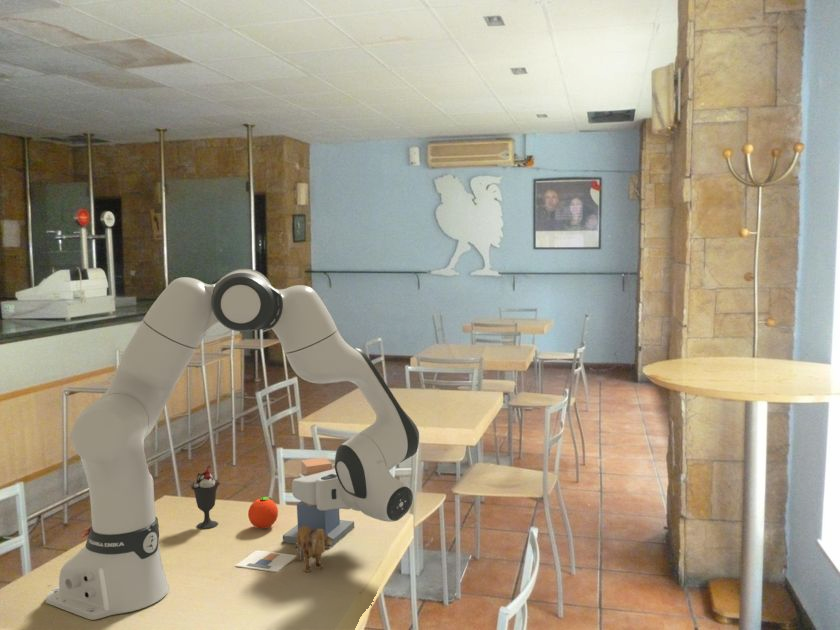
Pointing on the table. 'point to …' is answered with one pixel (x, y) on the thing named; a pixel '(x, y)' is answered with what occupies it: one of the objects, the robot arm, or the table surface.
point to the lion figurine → (312, 545)
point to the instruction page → (266, 561)
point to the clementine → (263, 512)
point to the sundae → (205, 497)
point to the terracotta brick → (315, 466)
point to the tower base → (333, 534)
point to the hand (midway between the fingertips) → (318, 472)
